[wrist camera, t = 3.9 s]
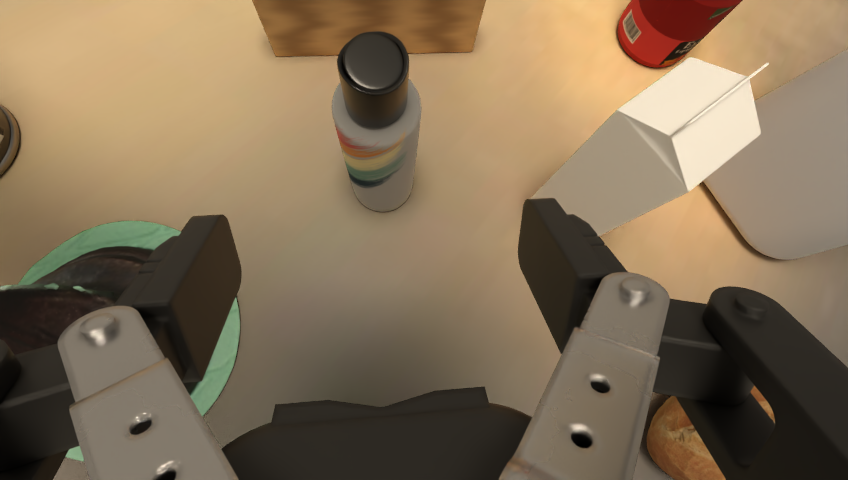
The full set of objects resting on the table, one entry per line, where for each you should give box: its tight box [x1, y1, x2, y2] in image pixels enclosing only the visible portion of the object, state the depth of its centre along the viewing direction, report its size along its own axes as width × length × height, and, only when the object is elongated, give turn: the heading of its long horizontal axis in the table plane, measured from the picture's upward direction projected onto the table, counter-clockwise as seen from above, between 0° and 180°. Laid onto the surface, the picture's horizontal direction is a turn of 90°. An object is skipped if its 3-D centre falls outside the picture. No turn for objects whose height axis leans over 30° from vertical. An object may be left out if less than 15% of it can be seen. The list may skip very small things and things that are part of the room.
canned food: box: [618, 0, 742, 68], centre depth 43 cm, size 8×8×11 cm
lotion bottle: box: [332, 31, 421, 212], centre depth 33 cm, size 6×6×20 cm
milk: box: [523, 57, 769, 236], centre depth 33 cm, size 6×6×22 cm
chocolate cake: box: [0, 221, 240, 461], centre depth 36 cm, size 15×19×20 cm
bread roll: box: [647, 386, 775, 480], centre depth 36 cm, size 10×15×8 cm, turn 103°
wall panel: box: [252, 0, 486, 56], centre depth 41 cm, size 21×3×9 cm, turn 94°
